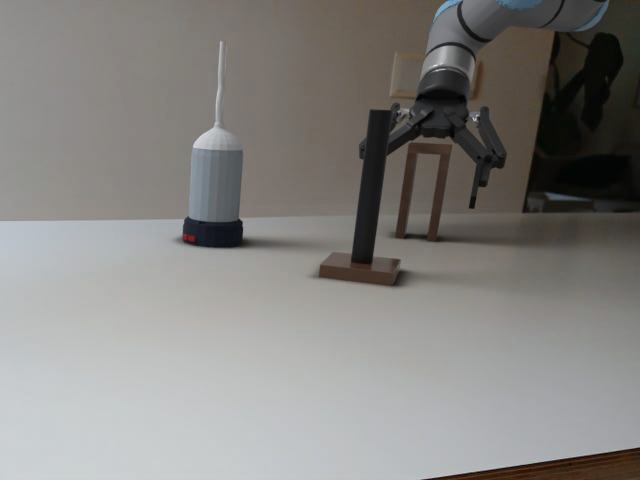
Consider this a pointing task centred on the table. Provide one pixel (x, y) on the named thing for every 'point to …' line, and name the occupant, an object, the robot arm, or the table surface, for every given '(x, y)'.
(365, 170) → the post on base
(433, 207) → the wooden arch frame
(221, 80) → the humidifier
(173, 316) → the table surface
